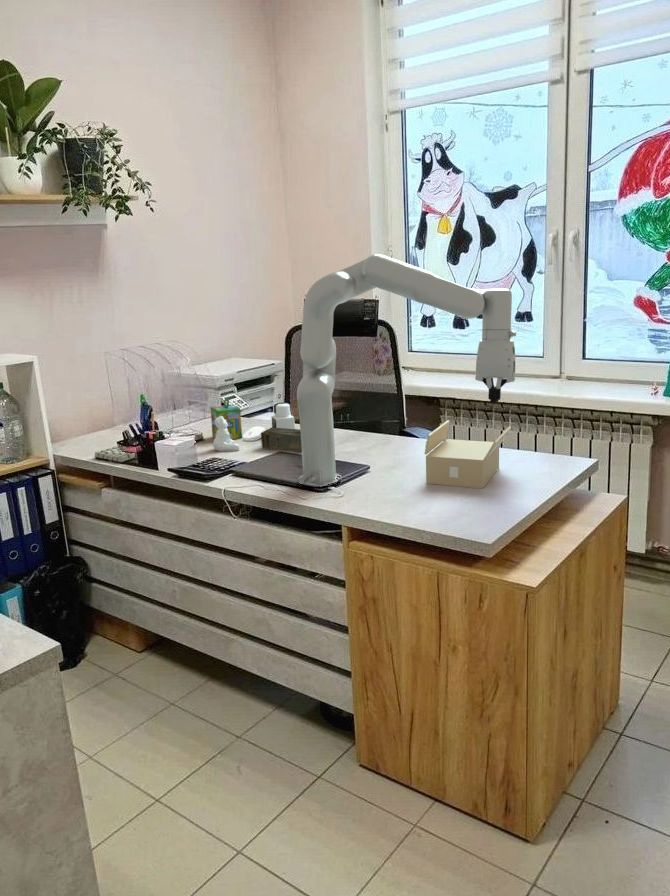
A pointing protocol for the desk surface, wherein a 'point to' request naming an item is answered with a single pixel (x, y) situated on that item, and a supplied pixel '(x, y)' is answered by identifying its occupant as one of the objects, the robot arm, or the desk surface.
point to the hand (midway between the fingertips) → (494, 402)
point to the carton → (461, 463)
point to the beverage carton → (281, 439)
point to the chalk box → (229, 414)
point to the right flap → (497, 442)
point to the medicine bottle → (282, 416)
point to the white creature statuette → (223, 437)
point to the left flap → (436, 437)
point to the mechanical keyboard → (122, 457)
